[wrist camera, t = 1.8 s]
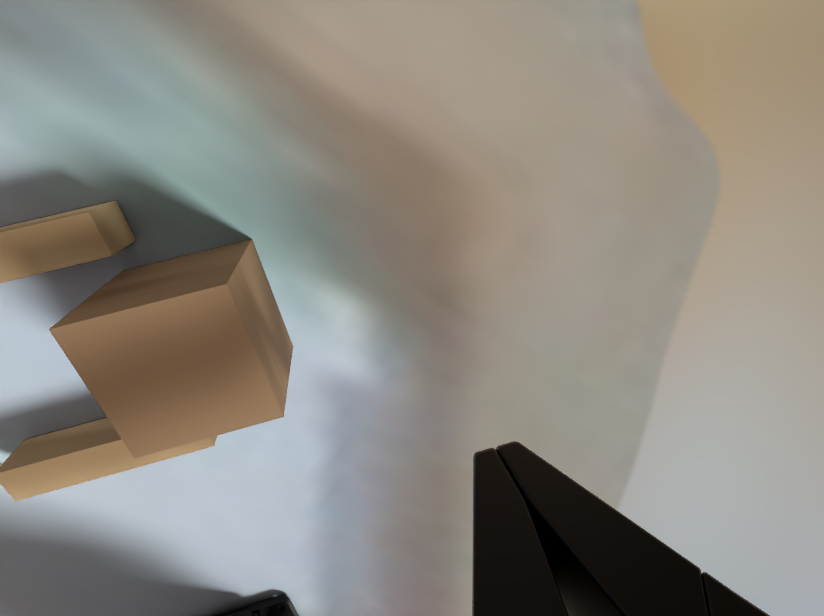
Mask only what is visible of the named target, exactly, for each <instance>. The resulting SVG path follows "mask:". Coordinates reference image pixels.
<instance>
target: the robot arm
mask: <svg viewBox="0 0 824 616" xmlns="http://www.w3.org/2000/svg"><path fill="white" fill-rule="evenodd" d="M216 616H299V615H298V613H297V611H296V610H295V608H294V606H293V604H292V602H291V600H290V599H289V598H288V597H287V596H278V597H275V598H271V599H268V600H265V601H262V602H258V603H255V604H252V605H249V606H245V607H242V608H239V609H236V610H232V611H229V612H226V613H222V614H219V615H216ZM472 616H769V615H768V614H766V613H765V612H763V611H762V610H760V609H759V608H757V607H756V606H754V605H753V604H751V603H750V602H748V601H747V600H745V599H744V598H742V597H741V596H739V595H738V594H736V593H734V592H733V591H732V590H730V589H729V588H728V587H726V586H725V585H723V584H722V583H720V582H719V581H718V580H716V579H715V578H713V577H712V576H711V575H709V574H708V573H706V572H705V573H704V572H703V573H702V574H701V570H700V568H699V567H697V566H696V565H694V564H693V563H691V562H690V561H689V560H687V559H686V558H684V557H682V556H681V555H680V554H679V553H677V552H676V551H674V550H672V549H671V548H670V547H668V546H667V545H666V544H664V543H663V542H661V541H660V540H658V539H657V538H656V537H654V536H653V535H651V534H650V533H648V532H647V531H645V530H644V529H643V528H641V527H640V526H638V525H637V524H635V523H634V522H633V521H631V520H629V519H628V518H627V517H625V516H624V515H622V514H621V513H620V512H618V511H617V510H615V509H614V508H612V507H611V506H610V505H608V504H607V503H605V502H604V501H602V500H601V499H599V498H598V497H597V496H595V495H594V494H592V493H591V492H589V491H588V490H587V489H585V488H584V487H582V486H581V485H579V484H578V483H576V482H575V481H574V480H572V479H571V478H569V477H568V476H566V475H565V474H563V473H562V472H561V471H559V470H558V469H556V468H555V467H553V466H552V465H551V464H549V463H548V462H546V461H545V460H543V459H542V458H540V457H539V456H538V455H536V454H535V453H533V452H532V451H530V450H529V449H528V448H526V447H525V446H523V445H522V444H520V443H519V442H515V441H514V442H510V443H507V444H503V445H500V446H498V447H497V448H496V450H495V449H494V448H490V449H486V450H483V451H479V452H476V453H475V454H474V459H473V598H472Z"/></svg>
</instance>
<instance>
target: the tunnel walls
mask: <svg viewBox="0 0 824 616" xmlns="http://www.w3.org/2000/svg"><path fill="white" fill-rule="evenodd" d="M135 240H136V239H135V237H134V235H133V233H132V231H131V229H130V227H129V225H128V223H127V221H126V219H125V217H124V215H123V213H122V211H121V209H120V207H119V205H118V203H117V201H116V200H115V201H111V202H106V203H102V204H98V205H94V206H89V207H85V208H81V209H76V210H72V211H68V212H64V213H59V214H55V215H51V216H46V217H42V218H38V219H33V220H29V221H25V222H21V223H16V224H12V225H8V226H3V227H0V283H3V282H7V281H11V280H15V279H19V278H23V277H28V276H32V275H36V274H40V273H44V272H48V271H52V270H57V269H61V268H65V267H69V266H73V265H77V264H81V263H85V262H90V261H94V260H98V259H102V258H106V257H110V256H113V255H114V254H116V253H117V252H119V251H120V250H122V249H123V248H125V247H126V246H128V245H129V244H131V243H132V242H134V241H135ZM216 438H217V436H213V437H210V438H206V439H203V440H199V441H195V442H192V443H188V444H185V445H181V446H178V447H174V448H170V449H167V450H163V451H160V452H156V453H153V454H149V455H146V456H142V457H138V458H135V459H134V457H133V456H132V454H131V453H130V451H129V450H128V448H127V447H126V445H125V444H124V442H123V441H122V439H121V437H120V436H119V434H118V433H117V431H116V430H115V428H114V427H113V425H112V424H111V422H110V421H109V419H108V418H104V419H100V420H96V421H93V422H89V423H85V424H81V425H78V426H74V427H70V428H67V429H63V430H59V431H55V432H52V433H48V434H44V435H40V436H37V437H33V438H29V439H26V440H24V441H23V442H22V443H21V444H20V445H19V446H18V448H17V449H16V450H15V451H14V452H13V453H12V454H11V455H10V456H9V457H8V458H7V460H6V461H5V462H4V463H3V464H2V465H1V466H0V484H1V485H2V486H3V487H4V488H5V489H6V491H7V492H8V493H9V494H10V495H11V496H12V498H13V499H14V500H15V501H18V500H22V499H25V498H29V497H32V496H36V495H40V494H43V493H47V492H50V491H54V490H58V489H61V488H65V487H68V486H72V485H76V484H79V483H83V482H86V481H90V480H93V479H97V478H101V477H104V476H108V475H111V474H115V473H119V472H122V471H126V470H129V469H133V468H137V467H140V466H144V465H147V464H151V463H155V462H158V461H162V460H165V459H169V458H173V457H176V456H180V455H183V454H187V453H191V452H194V451H198V450H201V449H205V448H208V447H212V446H214V444H215V441H216Z"/></svg>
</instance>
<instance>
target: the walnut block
mask: <svg viewBox="0 0 824 616" xmlns="http://www.w3.org/2000/svg"><path fill="white" fill-rule="evenodd" d="M49 330H50V332H51V333H52V335H53V336H54V338H55V339H56V341H57V342H58V344H59V345H60V347H61V348H62V350H63V351H64V353H65V354H66V356H67V357H68V359H69V360H70V362H71V363H72V365H73V366H74V368H75V369H76V371H77V372H78V374H79V376H80V377H81V379H82V380H83V382H84V383H85V385H86V386H87V388H88V389H89V391H90V392H91V394H92V395H93V397H94V398H95V400H96V401H97V403H98V404H99V406H100V407H101V409H102V410H103V412H104V413H105V415H106V416H107V418H108V419H109V421H110V422H111V424H112V425H113V427H114V428H115V430H116V431H117V433H118V434H119V436H120V437H121V439H122V441H123V442H124V444H125V445H126V447H127V448H128V450H129V451H130V453H131V454H132V456H133V457H134V459H135V458H138V457H142V456H146V455H149V454H153V453H156V452H160V451H163V450H167V449H170V448H174V447H178V446H181V445H185V444H188V443H192V442H195V441H199V440H203V439H206V438H210V437H213V436H217V435H220V434H224V433H227V432H231V431H235V430H238V429H242V428H245V427H249V426H252V425H256V424H259V423H263V422H267V421H270V420H274V419H277V418H281V417H284V409H285V402H286V394H287V387H288V380H289V372H290V365H291V357H292V350H293V345H292V342H291V340H290V337H289V335H288V332H287V329H286V327H285V324H284V321H283V319H282V316H281V314H280V311H279V308H278V306H277V303H276V301H275V298H274V295H273V293H272V290H271V287H270V285H269V282H268V280H267V277H266V274H265V272H264V269H263V266H262V264H261V261H260V259H259V256H258V253H257V251H256V248H255V245H254V243H253V240H252V239H249V240H245V241H241V242H237V243H233V244H229V245H225V246H221V247H217V248H213V249H209V250H205V251H201V252H197V253H193V254H189V255H185V256H181V257H177V258H173V259H169V260H165V261H161V262H157V263H153V264H148V265H144V266H140V267H136V268H132V269H128V270H124V271H122V272H120V273H119V274H118V275H117V276H115V277H114V278H113V279H112V280H110V281H109V282H108V283H107V284H105V285H104V286H103V287H102V288H100V289H99V290H98V291H96V292H95V293H94V294H93V295H91V296H90V297H89V298H88V299H86V300H85V301H84V302H83V303H81V304H80V305H79V306H78V307H76V308H75V309H74V310H73V311H71V312H70V313H69V314H68V315H66V316H65V317H64V318H63V319H61V320H60V321H59V322H58V323H56V324H55V325H54V326H53V327H51V328H50V329H49Z"/></svg>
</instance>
